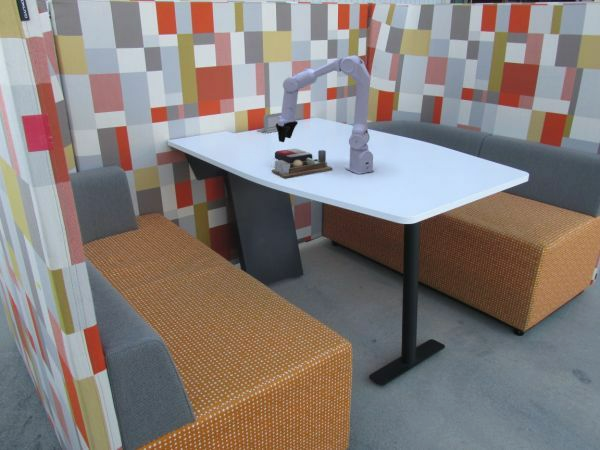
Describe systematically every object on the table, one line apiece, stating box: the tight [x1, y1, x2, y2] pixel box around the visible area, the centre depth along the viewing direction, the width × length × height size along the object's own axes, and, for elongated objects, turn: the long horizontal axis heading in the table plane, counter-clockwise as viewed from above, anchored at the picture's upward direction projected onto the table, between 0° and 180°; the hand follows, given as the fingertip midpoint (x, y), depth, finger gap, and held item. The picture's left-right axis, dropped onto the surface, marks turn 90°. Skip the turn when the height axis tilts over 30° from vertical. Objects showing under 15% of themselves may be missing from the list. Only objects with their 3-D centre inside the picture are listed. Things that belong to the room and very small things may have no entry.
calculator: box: [274, 148, 313, 164], centre depth 220 cm, size 11×4×15 cm
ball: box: [293, 160, 303, 167], centre depth 202 cm, size 4×4×4 cm
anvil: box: [274, 159, 290, 175], centre depth 198 cm, size 7×3×4 cm, turn 30°
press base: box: [271, 158, 333, 180], centre depth 203 cm, size 11×22×3 cm, turn 120°
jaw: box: [307, 149, 328, 166], centre depth 206 cm, size 4×8×6 cm, turn 120°
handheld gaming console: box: [256, 112, 281, 135], centre depth 280 cm, size 13×9×10 cm
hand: (284, 139), depth 210 cm, fingers open, 7 cm apart
